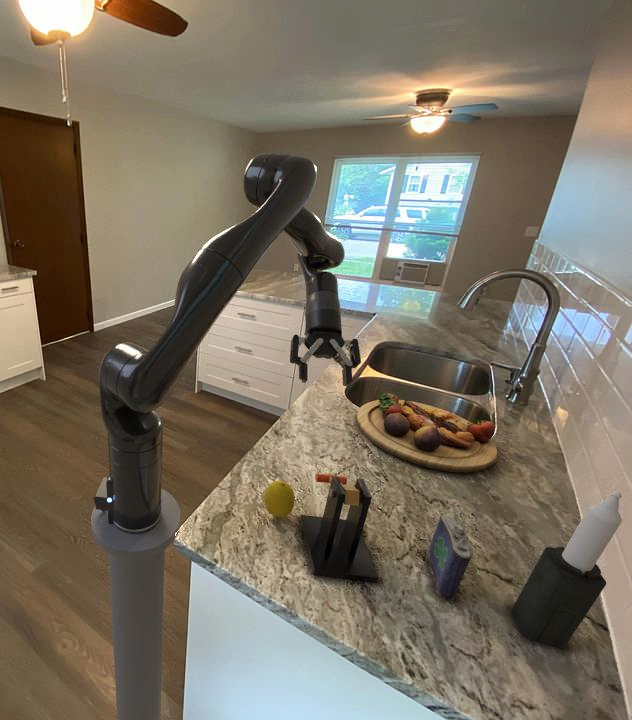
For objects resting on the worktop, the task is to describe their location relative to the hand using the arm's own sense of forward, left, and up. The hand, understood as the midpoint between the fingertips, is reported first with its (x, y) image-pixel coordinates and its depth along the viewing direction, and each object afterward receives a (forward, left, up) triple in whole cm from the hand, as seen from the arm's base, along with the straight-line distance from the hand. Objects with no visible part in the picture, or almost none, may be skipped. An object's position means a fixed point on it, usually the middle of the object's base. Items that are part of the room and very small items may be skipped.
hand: (325, 383), depth 81 cm
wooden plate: (+32, +18, -21) cm, 42 cm away
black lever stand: (0, -23, -21) cm, 31 cm away
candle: (+26, -33, -21) cm, 47 cm away
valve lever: (0, -20, -12) cm, 23 cm away
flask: (+16, -26, -21) cm, 38 cm away
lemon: (-9, -17, -21) cm, 29 cm away
